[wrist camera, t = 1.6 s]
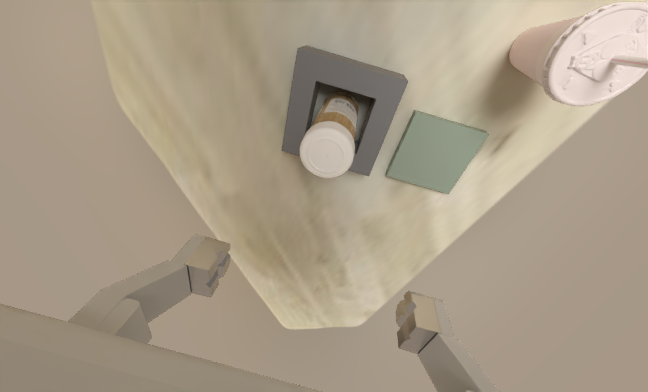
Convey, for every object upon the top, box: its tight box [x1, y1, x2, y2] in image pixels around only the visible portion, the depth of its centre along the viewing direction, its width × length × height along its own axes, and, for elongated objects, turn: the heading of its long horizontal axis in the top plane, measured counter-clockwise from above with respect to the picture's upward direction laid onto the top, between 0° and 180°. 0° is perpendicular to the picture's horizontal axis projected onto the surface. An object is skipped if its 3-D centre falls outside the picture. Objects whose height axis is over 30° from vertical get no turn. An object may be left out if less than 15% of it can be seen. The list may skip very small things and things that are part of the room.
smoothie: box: [509, 2, 648, 106], centre depth 19 cm, size 6×6×14 cm
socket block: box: [282, 46, 408, 176], centre depth 29 cm, size 11×11×4 cm
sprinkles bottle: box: [300, 92, 358, 178], centre depth 26 cm, size 5×5×13 cm
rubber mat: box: [386, 110, 489, 194], centre depth 32 cm, size 9×9×1 cm
